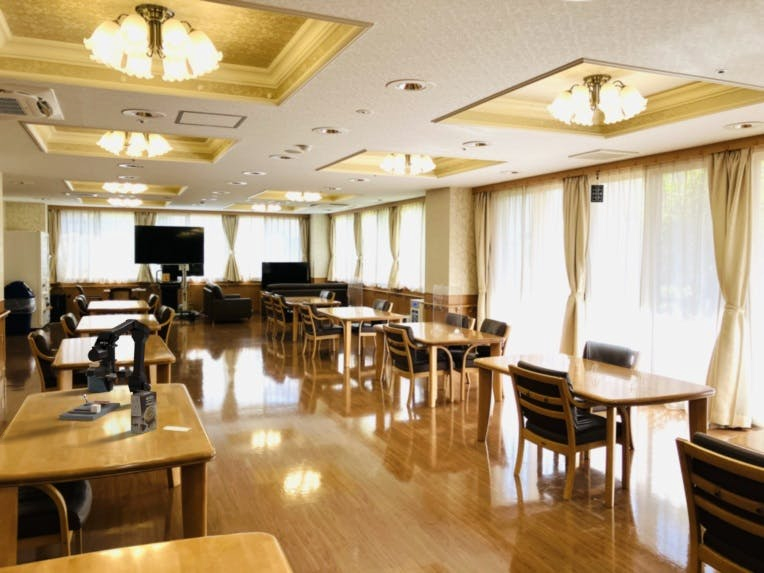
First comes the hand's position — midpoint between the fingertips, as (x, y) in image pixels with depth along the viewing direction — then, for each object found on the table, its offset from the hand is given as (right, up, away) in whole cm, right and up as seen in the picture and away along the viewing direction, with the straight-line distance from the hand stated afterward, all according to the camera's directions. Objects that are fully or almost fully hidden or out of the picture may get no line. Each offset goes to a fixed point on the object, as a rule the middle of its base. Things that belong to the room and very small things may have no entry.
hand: (108, 391), depth 269 cm
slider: (-7, -10, +1) cm, 12 cm away
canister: (-29, -9, +52) cm, 60 cm away
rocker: (-10, -7, +13) cm, 18 cm away
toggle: (-17, -8, +14) cm, 23 cm away
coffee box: (+23, -14, -17) cm, 32 cm away
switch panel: (-12, -11, +8) cm, 18 cm away
